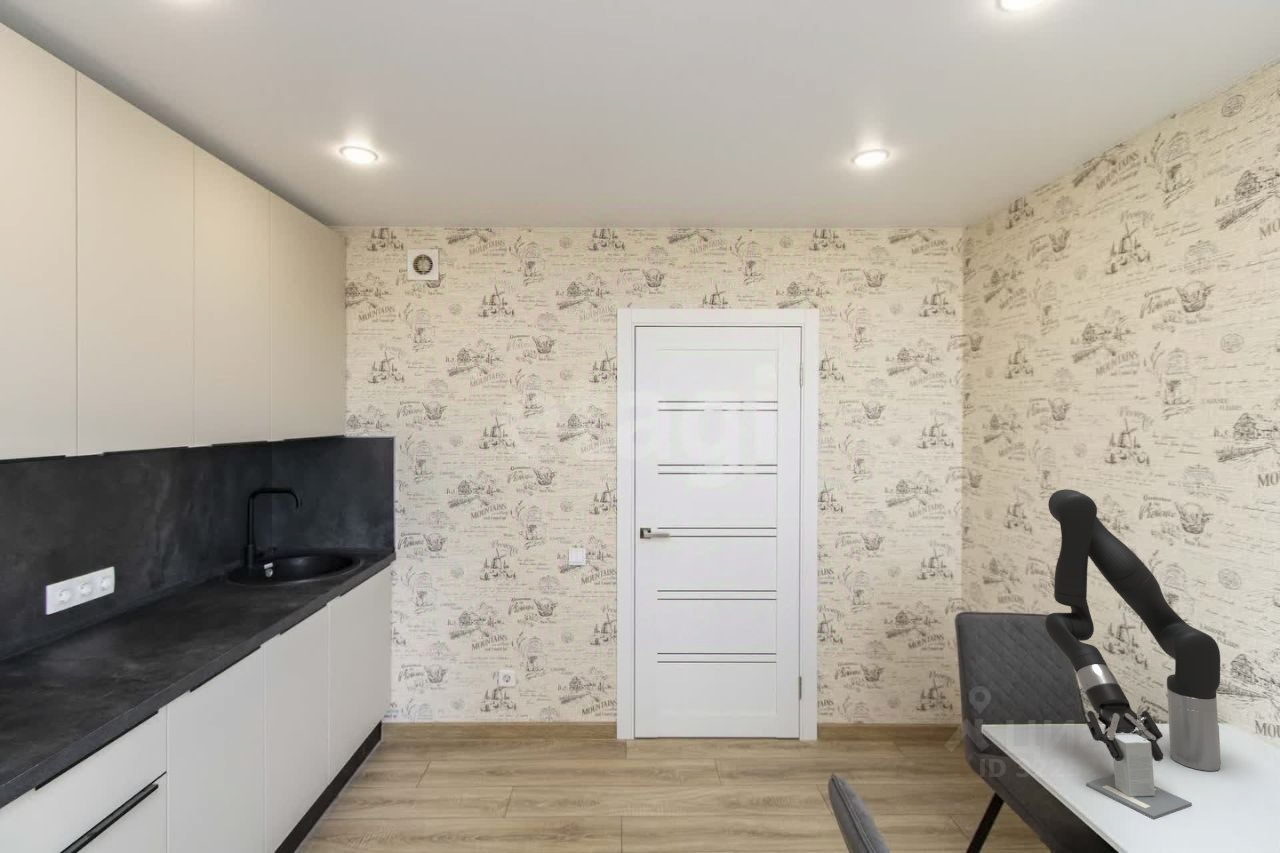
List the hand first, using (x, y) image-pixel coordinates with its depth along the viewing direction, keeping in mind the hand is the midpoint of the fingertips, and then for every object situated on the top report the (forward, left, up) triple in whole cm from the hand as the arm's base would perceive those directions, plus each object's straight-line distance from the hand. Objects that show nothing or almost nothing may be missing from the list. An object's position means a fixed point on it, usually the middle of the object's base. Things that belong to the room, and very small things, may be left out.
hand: (1140, 760), depth 138 cm
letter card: (-1, -1, -9) cm, 9 cm away
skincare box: (0, -2, -8) cm, 8 cm away
